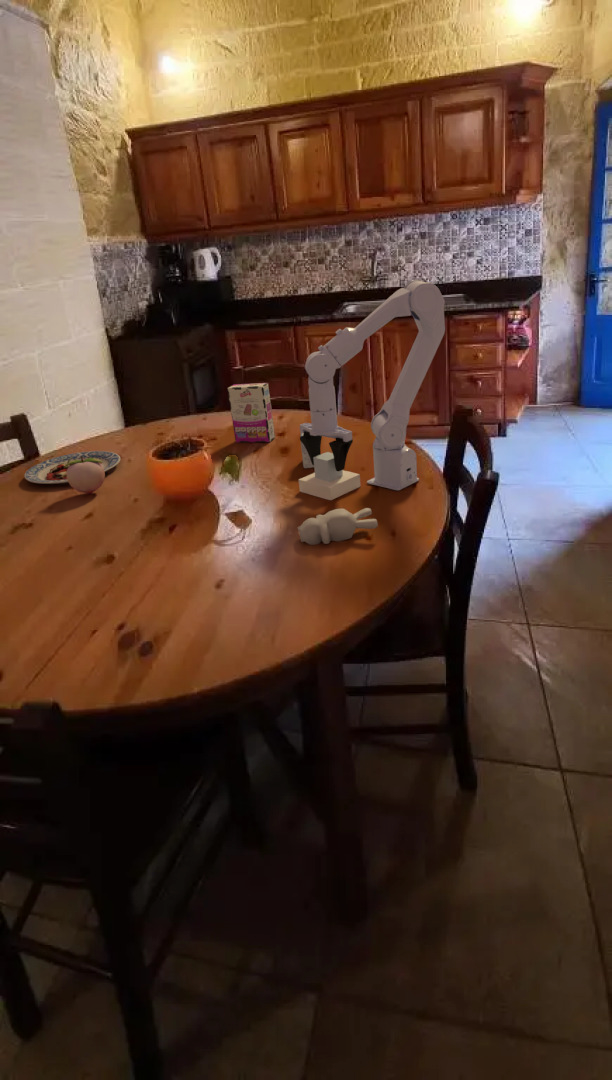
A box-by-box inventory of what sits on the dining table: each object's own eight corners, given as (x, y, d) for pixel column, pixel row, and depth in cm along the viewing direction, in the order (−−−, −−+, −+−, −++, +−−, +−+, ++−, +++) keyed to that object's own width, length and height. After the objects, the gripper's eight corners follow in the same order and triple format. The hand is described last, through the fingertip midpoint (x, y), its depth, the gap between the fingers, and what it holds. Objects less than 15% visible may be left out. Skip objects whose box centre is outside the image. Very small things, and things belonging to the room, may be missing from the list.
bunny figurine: (294, 514, 132) (367, 496, 132) (300, 536, 134) (371, 519, 134) (299, 533, 123) (377, 514, 123) (305, 557, 125) (381, 538, 125)
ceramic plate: (127, 476, 176) (125, 466, 175) (26, 497, 169) (23, 486, 167) (115, 452, 198) (113, 442, 197) (26, 470, 191) (23, 460, 189)
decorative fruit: (73, 503, 161) (62, 464, 156) (70, 493, 168) (60, 455, 163) (111, 495, 164) (102, 456, 159) (107, 485, 171) (99, 448, 166)
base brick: (360, 486, 153) (359, 474, 151) (330, 500, 147) (329, 487, 145) (329, 478, 159) (328, 466, 158) (299, 491, 153) (298, 479, 152)
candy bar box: (275, 437, 195) (269, 382, 188) (270, 442, 191) (263, 386, 184) (241, 437, 199) (233, 383, 192) (234, 442, 194) (226, 387, 188)
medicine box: (320, 467, 167) (317, 434, 164) (303, 469, 168) (299, 436, 164) (320, 457, 175) (317, 425, 171) (303, 459, 175) (300, 427, 171)
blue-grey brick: (342, 475, 152) (341, 455, 149) (329, 481, 149) (327, 460, 147) (328, 472, 155) (327, 451, 152) (315, 478, 152) (313, 457, 150)
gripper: (287, 409, 147) (293, 466, 153) (334, 417, 138) (339, 478, 143) (309, 401, 152) (315, 458, 157) (357, 408, 142) (360, 468, 148)
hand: (328, 467), depth 151 cm, fingers open, 7 cm apart
